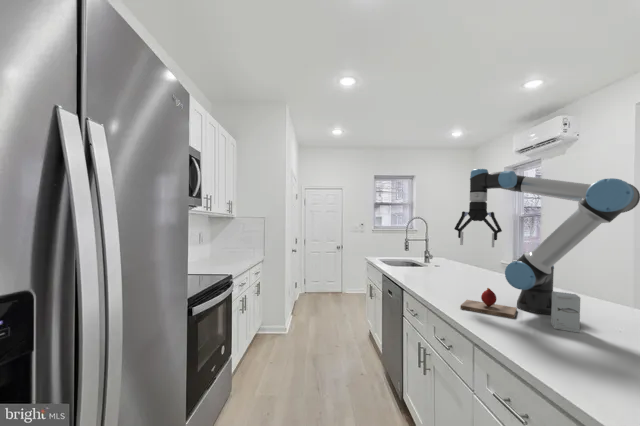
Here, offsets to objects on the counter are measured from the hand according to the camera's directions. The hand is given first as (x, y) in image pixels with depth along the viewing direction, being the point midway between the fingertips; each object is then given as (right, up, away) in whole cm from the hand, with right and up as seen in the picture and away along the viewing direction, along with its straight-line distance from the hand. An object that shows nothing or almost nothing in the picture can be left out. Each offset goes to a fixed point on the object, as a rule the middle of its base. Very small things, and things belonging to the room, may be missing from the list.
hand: (476, 246), depth 152 cm
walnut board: (-2, -26, -14) cm, 30 cm away
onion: (-2, -25, -14) cm, 29 cm away
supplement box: (+15, -27, -35) cm, 47 cm away
